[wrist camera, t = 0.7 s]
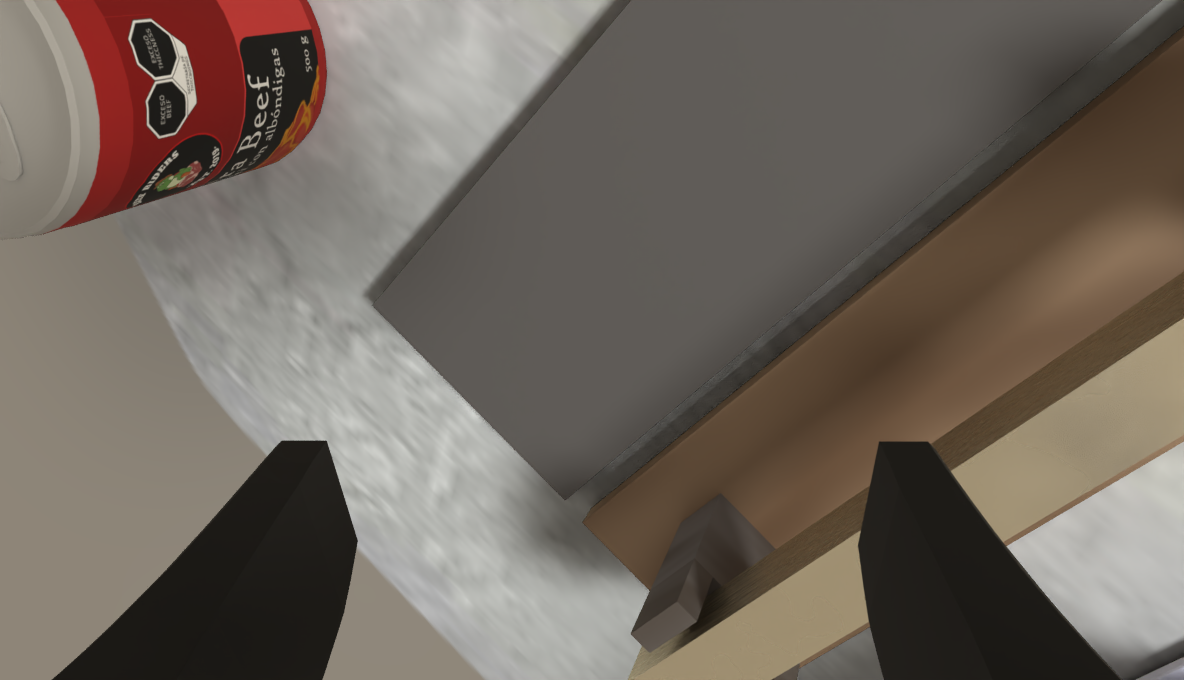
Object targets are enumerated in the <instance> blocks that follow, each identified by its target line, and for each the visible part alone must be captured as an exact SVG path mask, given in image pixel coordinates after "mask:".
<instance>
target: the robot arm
mask: <svg viewBox="0 0 1184 680" xmlns="http://www.w3.org/2000/svg"><path fill="white" fill-rule="evenodd" d="M357 542H358V540H357V537H356V534H355V530H354V527H353V524H352V521H351V518H350V514H349V511H348V508H347V505H346V502H345V498H344V495H343V492H342V489H341V485H340V482H339V479H338V476H337V473H336V469H335V466H334V463H333V460H332V456H331V453H330V450H329V447H328V444H327V441H281V442H280V443H279V444H278V445H277V446H276V447H275V448H274V449H273V451H272V452H271V453H270V454H269V455H268V456H267V457H266V458H265V460H264V461H263V462H262V463H261V464H260V465H259V466H258V468H257V469H256V470H255V471H254V472H253V474H252V475H251V476H250V477H249V478H248V479H247V480H246V481H245V483H244V484H243V485H242V486H241V487H240V488H239V490H238V491H237V492H236V493H235V494H234V495H233V497H232V498H231V499H230V500H229V501H228V502H227V503H226V504H225V506H224V507H223V508H222V509H221V510H220V511H219V512H218V514H217V515H216V516H215V517H214V518H213V519H212V520H211V521H210V523H209V524H208V525H207V526H206V527H205V528H204V529H203V531H201V532H200V534H199V535H198V536H197V537H196V538H195V539H194V540H193V541H192V542H191V543H190V545H189V546H188V547H187V548H186V549H185V550H184V551H183V552H182V553H181V554H180V555H179V557H178V558H177V559H176V560H175V561H174V562H173V563H172V564H171V565H170V566H169V567H168V568H167V570H166V571H165V572H164V573H163V574H162V575H161V576H160V577H159V578H158V579H157V580H156V581H155V582H154V583H153V584H152V585H151V586H150V587H149V588H148V589H147V590H146V591H145V592H144V593H143V594H142V595H141V596H140V597H139V598H138V599H137V600H136V601H135V602H134V603H133V604H132V605H131V606H130V607H129V608H128V609H127V610H126V611H125V612H124V613H123V614H122V615H121V616H120V617H119V618H118V619H117V620H116V621H115V622H114V623H113V624H112V625H111V626H110V627H109V628H108V629H107V630H106V631H105V632H104V633H103V634H102V635H101V636H100V637H99V638H98V639H96V640H95V641H94V642H93V643H92V644H91V645H90V646H89V647H88V648H87V649H86V650H85V651H84V652H82V653H81V654H80V655H79V656H78V657H77V658H76V659H75V660H74V661H73V662H71V663H70V664H69V665H68V666H67V667H66V668H65V669H64V670H63V671H61V672H60V673H59V674H58V675H57V676H56V677H54V678H53V679H52V680H322V679H323V676H324V673H325V670H326V667H327V664H328V661H329V658H330V654H331V651H332V648H333V645H334V642H335V639H336V636H337V633H338V630H339V627H340V623H341V620H342V617H343V614H344V609H345V605H346V600H347V595H348V590H349V586H350V581H351V575H352V570H353V564H354V559H355V553H356V548H357ZM858 550H859V558H860V565H861V573H862V580H863V587H864V594H865V601H866V607H867V614H868V620H869V624H870V628H871V632H872V636H873V640H874V643H875V647H876V651H877V655H878V659H879V663H880V666H881V670H882V674H883V678H884V680H1122V679H1121V678H1120V677H1119V676H1118V675H1117V674H1116V673H1115V672H1114V670H1113V669H1112V668H1111V667H1110V666H1109V665H1108V664H1107V663H1106V662H1105V661H1104V660H1103V659H1102V658H1101V657H1100V656H1099V655H1098V653H1097V652H1096V651H1095V650H1094V649H1093V648H1092V647H1091V646H1090V645H1089V644H1088V643H1087V641H1086V640H1085V639H1084V638H1083V637H1082V636H1081V635H1080V634H1079V633H1078V631H1077V630H1076V629H1075V628H1074V627H1073V626H1072V625H1071V624H1070V622H1069V621H1068V620H1067V619H1066V618H1065V617H1064V616H1063V615H1062V613H1061V612H1060V611H1059V610H1058V609H1057V608H1056V606H1055V605H1054V604H1053V603H1052V602H1051V601H1050V599H1049V598H1048V597H1047V596H1046V595H1045V594H1044V592H1043V591H1042V590H1041V589H1040V588H1039V586H1038V585H1037V584H1036V583H1035V581H1034V580H1033V579H1032V578H1031V576H1030V575H1029V574H1028V573H1027V571H1026V570H1025V569H1024V568H1023V567H1022V565H1021V564H1020V563H1019V562H1018V560H1017V559H1016V558H1015V557H1014V555H1013V554H1012V553H1011V552H1010V550H1009V549H1008V548H1007V547H1006V545H1005V544H1004V543H1003V542H1002V540H1001V539H1000V538H999V536H998V535H997V534H996V532H995V531H994V530H993V529H992V527H991V526H990V525H989V523H988V522H987V521H986V519H985V518H984V516H983V515H982V514H981V512H980V511H979V510H978V508H977V507H976V506H975V504H974V503H973V502H972V500H971V499H970V498H969V496H968V495H967V493H966V492H965V491H964V489H963V488H962V486H961V485H960V484H959V482H958V481H957V479H956V478H955V477H954V475H953V474H952V472H951V471H950V469H949V468H948V467H947V465H946V464H945V462H944V461H943V459H942V458H941V456H940V455H939V454H938V452H937V451H936V449H935V448H934V447H933V446H932V445H931V444H930V443H929V442H928V441H879V444H878V449H877V454H876V459H875V464H874V469H873V473H872V478H871V483H870V488H869V493H868V498H867V503H866V508H865V512H864V517H863V522H862V527H861V532H860V537H859V542H858ZM1136 680H1184V657H1182V658H1180V659H1178V660H1176V661H1174V662H1172V663H1170V664H1168V665H1165V666H1163V667H1161V668H1159V669H1157V670H1155V671H1153V672H1151V673H1149V674H1147V675H1144V676H1142V677H1140V678H1138V679H1136Z"/></svg>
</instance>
